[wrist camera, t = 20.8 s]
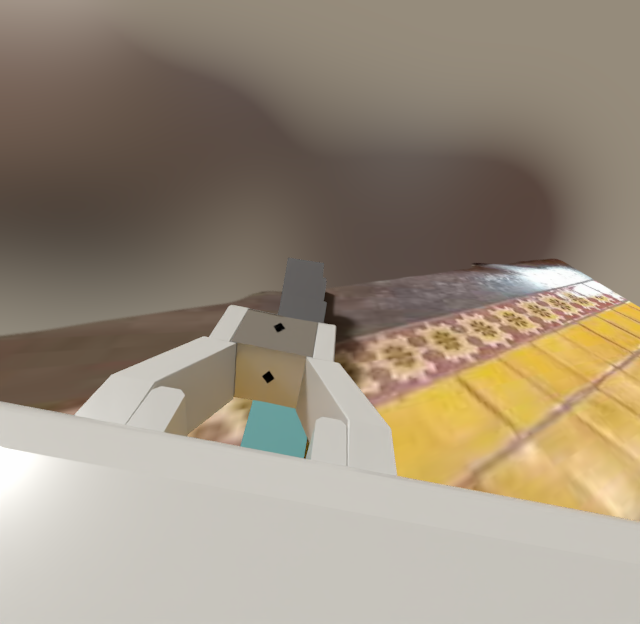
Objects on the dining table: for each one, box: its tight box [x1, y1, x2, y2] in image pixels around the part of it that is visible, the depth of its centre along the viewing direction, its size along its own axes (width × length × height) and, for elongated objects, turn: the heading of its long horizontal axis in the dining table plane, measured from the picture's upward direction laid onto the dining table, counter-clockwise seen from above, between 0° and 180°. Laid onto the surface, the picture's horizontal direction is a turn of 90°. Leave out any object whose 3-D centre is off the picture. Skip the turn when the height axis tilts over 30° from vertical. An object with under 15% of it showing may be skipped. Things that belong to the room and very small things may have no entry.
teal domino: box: [241, 400, 307, 458], centre depth 29 cm, size 2×5×12 cm
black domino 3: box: [278, 293, 327, 323], centre depth 33 cm, size 2×5×12 cm
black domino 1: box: [280, 258, 324, 303], centre depth 42 cm, size 2×5×12 cm
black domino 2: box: [280, 272, 326, 304], centre depth 38 cm, size 2×5×12 cm
